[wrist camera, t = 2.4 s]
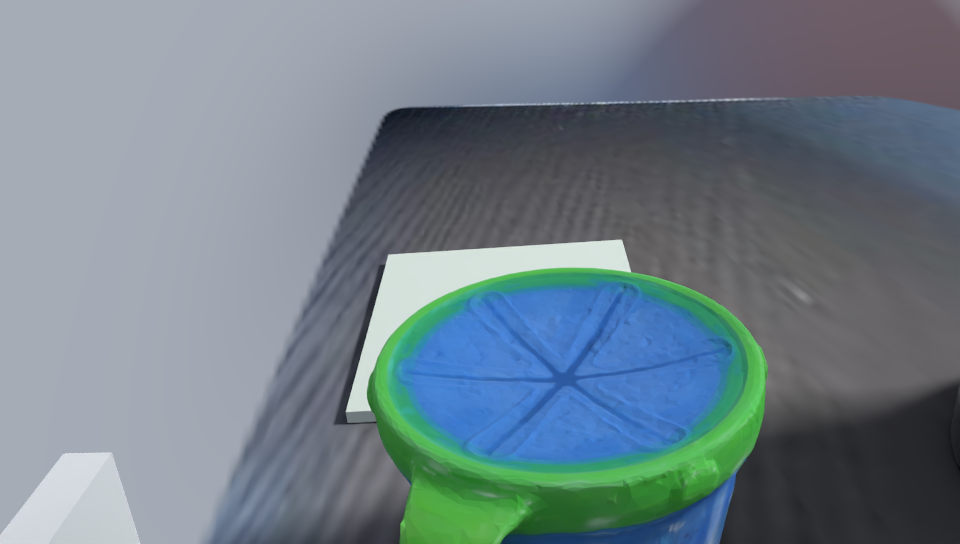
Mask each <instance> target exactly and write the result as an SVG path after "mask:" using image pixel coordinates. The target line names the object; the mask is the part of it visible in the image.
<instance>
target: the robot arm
mask: <svg viewBox="0 0 960 544" xmlns="http://www.w3.org/2000/svg"><path fill="white" fill-rule="evenodd" d="M951 444H952V449H953V453H954V456H955V459H956V462H957V464H958V466H959V468H960V384H959V389H958V394H957V399H956V404H955V409H954V414H953V419H952V424H951ZM0 544H140V541H139V537H138V534H137V531H136V528H135V525H134V522H133V518H132V515H131V512H130V509H129V506H128V503H127V499H126V497H125V493H124V490H123V487H122V483H121V480H120V477H119V474H118V471H117V468H116V464H115V461H114V458H113V455H112V453H70V454H69V453H64V454H63V455H62V456H61V458H60V459H59V461H58V462H57V463H56V464H55V466H54V467H53V468H52V469H51V471H50V472H49V473H48V474H47V476H46V477H45V478H44V480H43V481H42V482H41V484H40V485H39V486H38V487H37V489H36V490H35V491H34V492H33V494H32V495H31V496H30V498H29V499H28V500H27V501H26V503H25V504H24V505H23V507H22V508H21V509H20V510H19V512H18V513H17V514H16V516H15V517H14V518H13V520H12V521H11V522H10V523H9V525H8V526H7V527H6V529H5V530H4V531H3V532H2V534H1V535H0Z"/></svg>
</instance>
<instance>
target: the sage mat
mask: <svg viewBox="0 0 960 544" xmlns="http://www.w3.org/2000/svg"><path fill="white" fill-rule="evenodd" d="M548 268H599V269H609V270H618V271H626V272H631V270H630V267H629V263H628V260H627V256H626V253H625V249H624V246H623V242H622V240H610V241H595V242H579V243H564V244H548V245H532V246H517V247H501V248H486V249H470V250H455V251H439V252H424V253H408V254H393V255H388V259H387V262H386V266H385V270H384V273H383V277H382V281H381V284H380V288H379V292H378V295H377V299H376V303H375V306H374V310H373V314H372V317H371V321H370V325H369V328H368V332H367V336H366V339H365V343H364V347H363V350H362V354H361V358H360V361H359V365H358V369H357V372H356V376H355V380H354V383H353V387H352V391H351V394H350V398H349V401H348V405H347V409H346V417H347V422H348V423H360V422H376V417H375V415H374V413H373V412H372V411H371V409H370V406H369V404H368V400H367V387H368V380H369V377H370V375H371V373H372V372H373V370H374V367H375V364H376V361H377V358H378V356H379V354H380V352H381V350H382V348H383V346H384V345H385V343H386V341H387V340H388V338H389V337H390V336H391V335H392V334H393V332H394V331H395V330H396V329H397V328H398V327H399V326H400V325H401V324H402V323H403V322H404V321H406V320H407V319H408V318H409V317H410V316H411V315H413V314H414V313H415V312H417V311H418V310H419V309H421V308H422V307H424V306H425V305H427V304H429V303H430V302H432V301H434V300H436V299H438V298H440V297H442V296H443V295H446V294H448V293H450V292H453V291H455V290H457V289H460V288H462V287H465V286H468V285H471V284H474V283H477V282H480V281H483V280H487V279H490V278H495V277H499V276H503V275H507V274H512V273H518V272H524V271H531V270H538V269H548Z"/></svg>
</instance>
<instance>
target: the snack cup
mask: <svg viewBox="0 0 960 544" xmlns="http://www.w3.org/2000/svg"><path fill="white" fill-rule="evenodd" d="M767 373H768V367H767V363H766V360H765V357H764V354H763V351H762V348H761V347H760V346H759V345H758V344H757V343H756V341H755V340H754V338H753V337H752V335H751V333H750V332H749V331H748V330H747V329H746V327H745V326H744V325H743V324H742V323H741V322H740V321H739V320H738V319H737V318H736V317H735V316H734V315H732V314H731V313H730V312H729V311H728V310H727V309H726V308H724V307H723V306H721V305H719V304H717V303H716V302H715V301H714V300H712V299H710V298H708V297H706V296H704V295H702V294H700V293H698V292H696V291H694V290H692V289H689V288H687V287H684V286H681V285H678V284H675V283H673V282H670V281H666V280H663V279H659V278H656V277H652V276H647V275H643V274H637V273H631V272H626V271H618V270H609V269H599V268H548V269H538V270H531V271H524V272H518V273H512V274H507V275H503V276H499V277H495V278H490V279H487V280H483V281H480V282H477V283H474V284H471V285H468V286H465V287H462V288H460V289H457V290H455V291H453V292H450V293H448V294H446V295H443V296H442V297H440V298H438V299H436V300H434V301H432V302H430V303H429V304H427V305H425V306H424V307H422V308H421V309H419V310H418V311H417V312H415V313H414V314H413V315H411V316H410V317H409V318H408V319H407V320H406V321H404V322H403V323H402V324H401V325H400V326H399V327H398V328H397V329H396V330H395V331H394V332H393V334H392V335H391V336H390V337H389V338H388V340H387V341H386V343H385V345H384V346H383V348H382V350H381V352H380V354H379V356H378V358H377V361H376V364H375V367H374V370H373V372H372V373H371V375H370V377H369V380H368V387H367V400H368V404H369V406H370V409H371V411H372V412H373V413H374V415H375V417H376V422H377V426H378V430H379V434H380V437H381V440H382V442H383V445H384V447H385V449H386V451H387V453H388V454H389V456H390V457H391V459H392V460H393V462H394V463H395V465H396V466H397V468H398V469H399V470H400V472H401V473H402V474H403V475H404V477H405V478H406V479H407V480H408V482H409V483H410V485H411V487H410V491H409V495H408V498H407V503H406V508H405V513H404V517H403V520H402V522H401V524H400V544H719V543H720V539H721V535H722V532H723V528H724V524H725V520H726V516H727V512H728V508H729V505H730V501H731V497H732V494H733V490H734V486H735V477H736V472H737V471H738V470H739V468H740V467H741V465H742V464H743V463H744V462H745V460H746V459H747V457H748V456H749V454H750V453H751V451H752V450H753V448H754V446H755V443H756V440H757V437H758V435H759V431H760V428H761V424H762V420H763V416H764V406H765V381H766V379H767Z"/></svg>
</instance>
